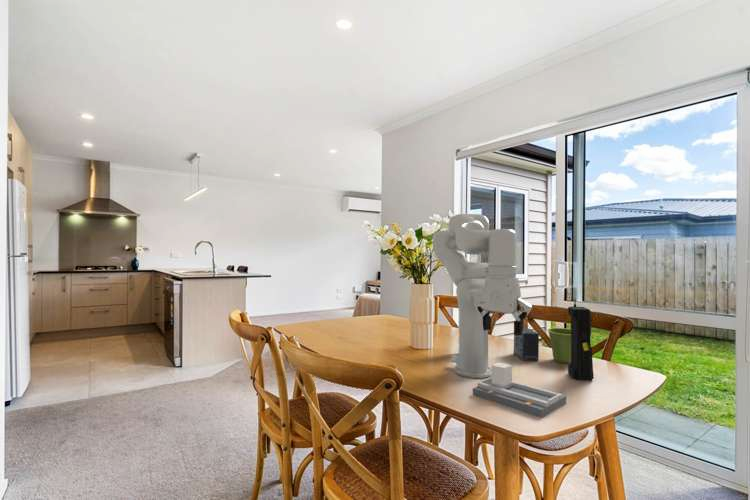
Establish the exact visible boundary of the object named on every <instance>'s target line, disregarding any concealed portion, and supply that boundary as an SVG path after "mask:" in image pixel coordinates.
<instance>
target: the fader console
mask: <svg viewBox="0 0 750 500" xmlns="http://www.w3.org/2000/svg"><path fill="white" fill-rule="evenodd" d="M512 382H513V386H512V387H510V388H507V389H502V388H499V387H495V386H492V385H490V383H492V376H490V377H486V378H484V379H483V380H480V382H477V383H476V384H477V386H475V387H472V397H473V396H474V397H476V398H480V399H483V400H484V401H485V400H486V401H489V402H492V403H495V404H498V405H501V406H505V407H507V408H511V409H514V410H516V411H520V412H523V413H526V414H528V415H532V416H534V417H538V418H540V419H542V418H544V417H545V416H548V415H549V414H552V413H553V412H554V411H556V410H557V409H559V408H561V407H562V406H565V405H566V404H567V395H565V394H563V393H559V392H554V391H550V390H547V389H545V388H540V387H536V386H532V385H530V384H529V385H528V384H525V383H521V382H518V381H514V380H512Z"/></svg>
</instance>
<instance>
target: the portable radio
mask: <svg viewBox="0 0 750 500" xmlns="http://www.w3.org/2000/svg"><path fill="white" fill-rule="evenodd" d="M573 300H574V304H573V306H568V307H567V315H568V316H570V329H571V363H567V374H568V375H569V377H571V378H572V379H573V380H577V381H587V380H589V381H590V382H591V381H593V380H594V378H595V377H594V376H595V375H594V366H593V365H594V364H593V363H594V362H593V347H592V346H591V335H592V310H590V308H587V307H585V306H577V304H576V300H577V299H576V298H574V299H573Z"/></svg>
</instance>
